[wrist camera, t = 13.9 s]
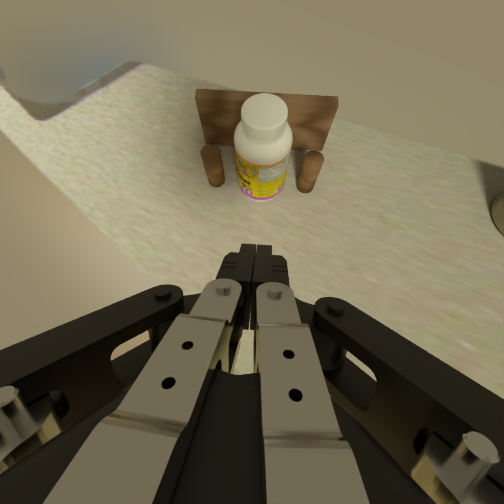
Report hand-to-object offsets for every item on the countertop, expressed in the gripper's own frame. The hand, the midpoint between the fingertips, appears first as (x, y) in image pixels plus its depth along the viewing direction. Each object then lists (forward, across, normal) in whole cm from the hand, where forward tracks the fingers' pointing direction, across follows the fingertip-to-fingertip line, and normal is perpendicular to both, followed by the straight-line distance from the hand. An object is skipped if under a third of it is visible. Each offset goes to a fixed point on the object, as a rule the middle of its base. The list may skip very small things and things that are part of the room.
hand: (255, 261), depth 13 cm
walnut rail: (+32, +1, -5) cm, 32 cm away
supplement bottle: (+27, +1, +1) cm, 27 cm away
